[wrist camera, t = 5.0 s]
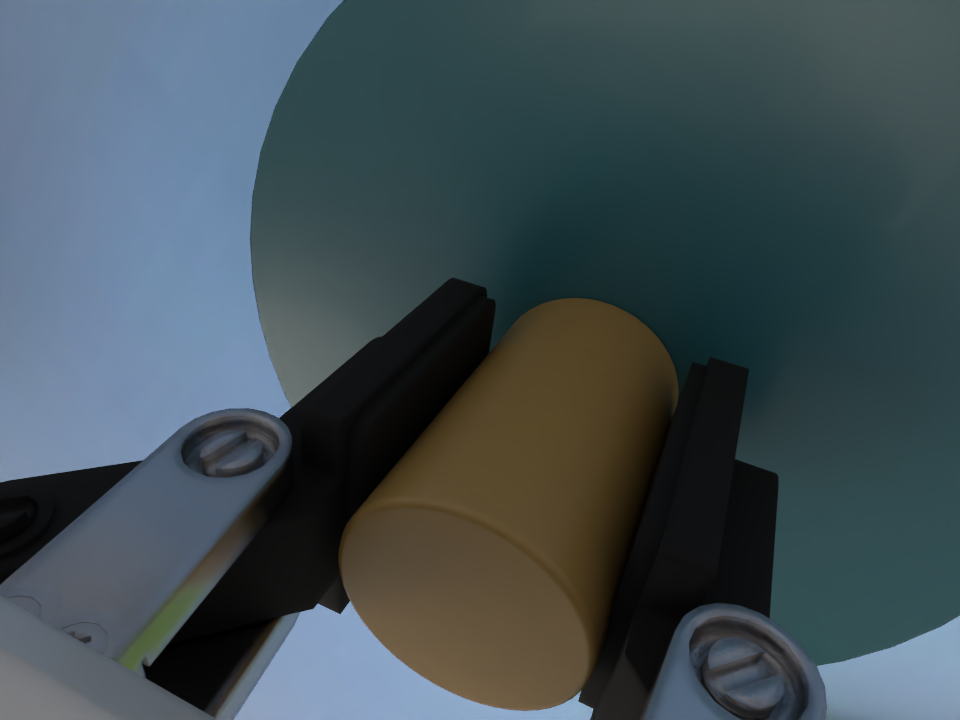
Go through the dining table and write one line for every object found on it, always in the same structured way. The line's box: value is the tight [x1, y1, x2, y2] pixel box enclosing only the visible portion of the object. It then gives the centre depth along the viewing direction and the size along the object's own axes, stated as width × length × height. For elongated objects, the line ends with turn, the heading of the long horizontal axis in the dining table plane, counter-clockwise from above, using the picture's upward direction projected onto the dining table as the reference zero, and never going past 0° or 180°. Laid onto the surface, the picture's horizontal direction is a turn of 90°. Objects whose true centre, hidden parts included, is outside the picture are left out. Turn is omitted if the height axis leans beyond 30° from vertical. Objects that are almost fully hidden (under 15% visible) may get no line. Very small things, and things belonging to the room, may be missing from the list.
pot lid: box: [250, 0, 960, 711], centre depth 9 cm, size 14×14×6 cm
